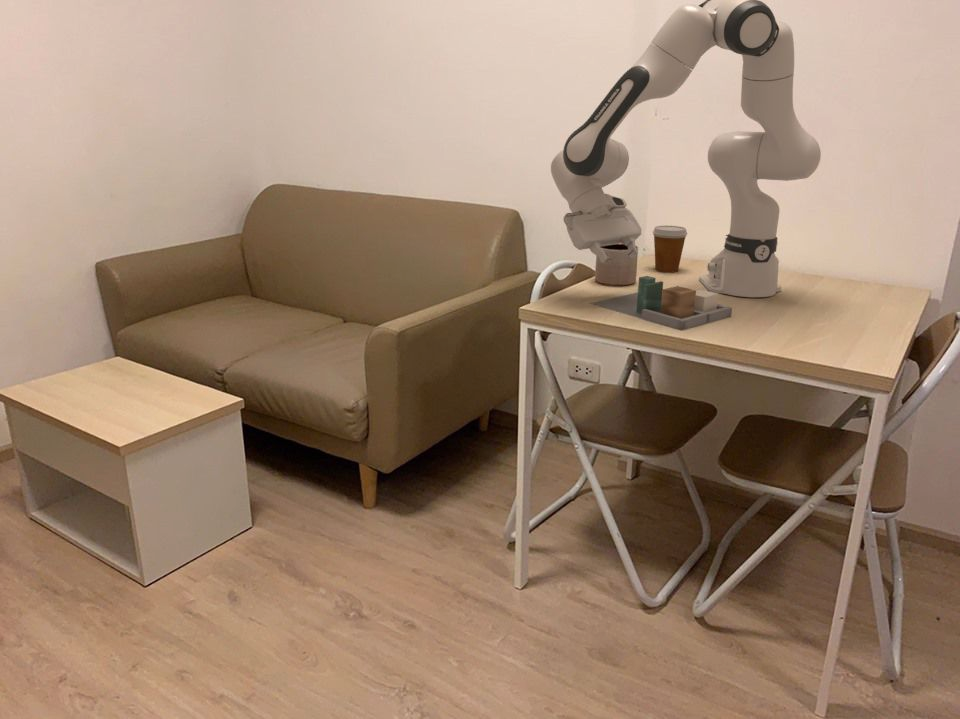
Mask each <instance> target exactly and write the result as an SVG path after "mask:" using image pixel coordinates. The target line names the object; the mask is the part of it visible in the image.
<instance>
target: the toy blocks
mask: <svg viewBox="0 0 960 719" xmlns="http://www.w3.org/2000/svg"><path fill="white" fill-rule="evenodd" d="M637 284H638V285H637V293H638V296H637V309H636V312H639V313H642V310H643V309H648V310H652V311H655V312H659V313H662V314H666V315H670V316H673V317H677V318H680V319H683V318H687V317H690V316H694V306H695V296H696V290H697V289H691V288H687V287H683V286H679V285H677V286H672V287H667V288H664V281H661V280H660V281H656V277H653V276H648V275H644V276H639V277H638V283H637ZM661 302H662V303H661Z"/></svg>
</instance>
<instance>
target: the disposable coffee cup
mask: <svg viewBox="0 0 960 719" xmlns="http://www.w3.org/2000/svg"><path fill="white" fill-rule="evenodd" d="M652 233H653V243H654V264H655V265H654V266H655V269H654V270H655V271H657V272H660V273H676V272H678V271H679V267H680V263H681V259H682V253H683V250H684V244H685V240H686V237H687V236H688V232H687V228H686V227H683V226H677V225H657V226H655V227H654V229H653V231H652Z"/></svg>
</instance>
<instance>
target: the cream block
mask: <svg viewBox="0 0 960 719" xmlns="http://www.w3.org/2000/svg"><path fill="white" fill-rule="evenodd" d="M695 290H696V296H695V306H694V310H698V311H701V312H709V311H713V310H717V304H718V303H719V302H718V300H719V293H714V292H710V291H709V290H704V289H695Z"/></svg>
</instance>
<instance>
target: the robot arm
mask: <svg viewBox="0 0 960 719" xmlns="http://www.w3.org/2000/svg"><path fill="white" fill-rule="evenodd" d="M794 45H795V43H794V35H793V30H792V29H791V27H790V26H789V24H787V23H786V22H783V21H781V20H776V18H775V15H774V13H773V10H772V9H771V8H770V7H769V6H768V5H767V4H766V3H764V2H763V1H761V0H705V1H703V2H702V3H701V4H698V5H697V4H691V3H689V4H688V3H687V4H682V5H681V6H679V7H678V8H677V9H676V10H675V11H674V12H673V13H672V14H671V15H670V16H669V18H668V19H667V20H666V21H665V22H664V23H663V25H662V27H661V28H660V29H659V30H658V32H657V33H656V34H655V36H653V39H652V40H651V42H650V43H649V45H648V46H647V48H646V49H645V51H644V52H643V54H642V55H641V56H640V57H639V59H638V60H637V61H636V62H635V63H634V65H632V66H631V68H629V69H628V70H627V71H625V72H624V74H622V75H621V77H620V78H618V79H617V81H616V82H615V83H614V85H613V86H612V88H611V89H610V90H609V91H608V93H607V94H606V95H605V97H604V98H603V99H602V101H601V102H600V103H599V105H598V106H597V107H596V108H595V110H594V111H593V113H592V114H591V115H590V116H589V117H588V119H587V120H586V121H585V122H584V123H583V124H582V125H580V126H579V127H578V128H577V129H575V130H574V131H572V133H571V134H570V135H568V138H567V139H566V142H565V143H564V146H563V149H562V150H561V151H559V152H558V153H557V154H556V155H555V156H554V158H553V159H552V161H551V163H550V172H551V176H552V179H553V181H554V184H555V185H556V187H557V189H558V191H559V193H560V195H561V197H562V198H563V199H565V200H566V202H567V204H568V208H569V210H570V212H567V213H565V214H564V216H563V223H564V225H565V226H566V231H567V234H568V236H569V238H570V240H571V243H572V245H573V246H574V247H575V248H576V249H577V250H579V251H582V250H590V252H591V253H592V254H594V255H595V257H596V256H598V257H599V258H600V260H601V262H607V261H608V260H609V259H610V256H609V254H608V252H604V251H603V250H602V249H601V248H600V247H602V246H608V245H614V244H621V243H624V244H625V245H626V246H628V251H627V254H628V255H629V257H635V256H636V255H637V254H638V255H639V250H638V251H637V250H636V248H635V246H636V240H637V239H638V238H639V237H640V236H641V235H642V228H641V225H640V224H639V222H638V220H637V219H636V217H635V215H634V213H632V211H631V210H630V209H629V208H627V205H628V203H627V202H626V201H625V200H626V199H624V198H621V197H618V196H614V195H610V194H609V193H605V192H604V190H603V188H604V187H606V186H608V185H609V184H612V183H613V182H615V181H616V180H618V179H619V178H621V177H622V176H623V174H624V173H625V172H626V171H627V168H628V165H629V162H630V161H629V157H630V156H629V152H628V150H627V148H626V147H625V145H624V144H623V143H621V142H619V141H617V140H615V139H612V138H611V137H612V135H613V134H614V133H615V131H616V130H617V129H618V128H619V126H620V125H621V123H622V122H623V121H624V120H625V118H626V117H627V116H628V115H629V113H630V112H631V111H632V110H633V109H634V108H635V107H637V106H638V105H639V104H641V103H643V102H647V101H649V100H655V99H662V98H667V97H670V96H672V95H673V94H675V93H676V92H677V91H678V90H679V89H680V88H681V87H682V86H683V84H684V83H685V82H686V81H687V79H688V78H689V76H690V75H691V74H692V72H693V70H694V69H695V68H696V66H697V64H698V62H699V61H700V59H701V58H702V57H703V56H704V54H705V53H706V52H708V50H710V49H711V48H713V47H715V46H717V47H719V48H720V49H723V50H728V51H732V52H733V53H735V54H738V55H741V56H742V73H741V90H740V91H741V93H740V106H741V110H742V111H743V113H744V114H745V115H746V116H747V117H748V118H749V119H751V120H753V121H755V122H756V123H757V124H759V125H760V126H761V127H762V128H763V130H764V131H740V130H739V131H737V130H736V131H731V132H725V133H721V134H718V135H717V136H716V137H715V138H714V139H713V140H712V141H711V143H710V145H709V147H708V151H707V163H708V166H709V167H710V169H711V171H712V172H713V173H714V174H715V175H716V176H717V177H718V178H719V179H720V180H721V181H722V182H723V184H724V185H725V187H726V189H727V192H728V195H729V198H730V199H729V200H730V206H731V207H730V209H731V210H730V211H731V212H730V226H729V233H728V234H726V235H725V238H724V239H725V242H724V246H723V247H724V248H723V249H721V251H720V252H719V253H718V254H717V255H715V256H714V257H712V259H711V260H710V262H709V263H707V267H706V268H707V271H708V274H703V275H700V276H699V277H698V280H699V281H700V282H701V284H702V285H703V286H704V287H705V288H706V289H707V291H709V292H713V293H717V294H722V295H723V294H725V295H729V296H734V297H743V298H744V297H745V298H766V297H767V298H768V297H772V296H775V295H776V293H777V292H782V291H781V290H782V286H781V285H778V284H779V283H778V281H779V262H780V261H779V258H778V257H777V256H776V252H777V247H778V237H777V232H778V226H779V219H780V218H779V216H780V211H781V210H780V206H779V204H778V202H777V201H776V200H775V199H774V198H773V197H772V196H770V195H768V194H766V193H765V192H764V191H762V190H761V189H760V187H759V185H758V180H767V181H768V180H770V181H783V182H784V181H786V182H788V181H796V180H797V181H798V180H804V179H807V178H809V177H811V176H812V175H813V174H814V173H815V171H816V170H817V169H818V167H819V164H820V162H821V157H822V156H821V154H822V151H821V146H820V145H819V142H818V140H816V138H815V137H814V136H812V135H811V134H810V133H809V132H807V131H806V129H804V127H802V125H801V124H800V122H799V120H798V117H797V116H796V113H795V109H794V102H793V101H794V97H793V96H794V95H793V94H794V90H793V89H794V76H795V74H794V72H795V46H794Z"/></svg>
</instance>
